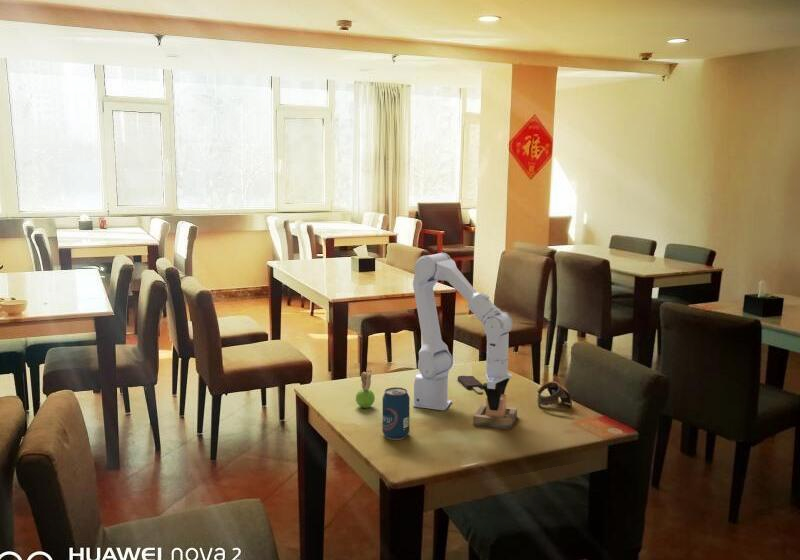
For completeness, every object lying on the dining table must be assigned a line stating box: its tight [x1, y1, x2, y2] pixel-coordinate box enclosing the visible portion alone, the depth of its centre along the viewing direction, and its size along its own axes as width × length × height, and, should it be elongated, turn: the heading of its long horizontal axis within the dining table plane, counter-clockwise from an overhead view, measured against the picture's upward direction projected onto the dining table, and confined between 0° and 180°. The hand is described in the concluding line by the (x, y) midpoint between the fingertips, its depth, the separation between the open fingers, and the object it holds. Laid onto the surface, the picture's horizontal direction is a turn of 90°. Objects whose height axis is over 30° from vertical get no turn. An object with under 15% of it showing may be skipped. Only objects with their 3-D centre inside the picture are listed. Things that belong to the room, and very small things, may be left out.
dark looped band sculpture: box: [536, 380, 573, 409], centre depth 195 cm, size 12×10×8 cm
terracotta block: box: [485, 393, 507, 418], centre depth 183 cm, size 4×4×6 cm
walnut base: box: [472, 403, 518, 431], centre depth 183 cm, size 10×10×2 cm
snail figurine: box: [355, 369, 376, 409], centre depth 192 cm, size 5×6×12 cm
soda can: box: [381, 386, 411, 441], centre depth 172 cm, size 7×7×12 cm
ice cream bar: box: [457, 375, 484, 394], centre depth 212 cm, size 5×2×15 cm
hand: (495, 406), depth 183 cm, fingers open, 5 cm apart
